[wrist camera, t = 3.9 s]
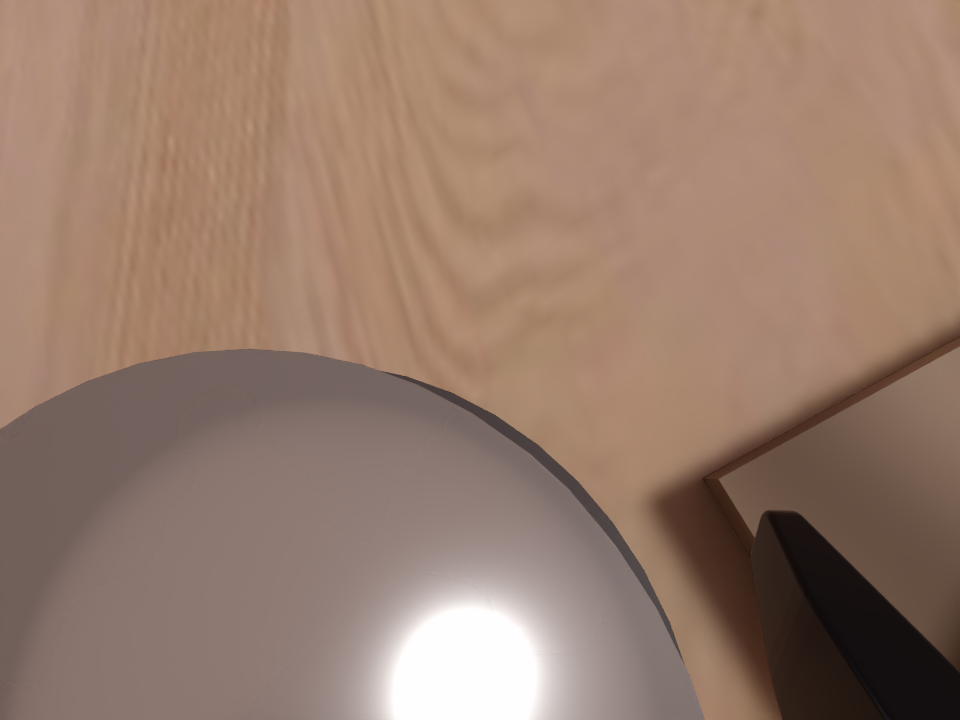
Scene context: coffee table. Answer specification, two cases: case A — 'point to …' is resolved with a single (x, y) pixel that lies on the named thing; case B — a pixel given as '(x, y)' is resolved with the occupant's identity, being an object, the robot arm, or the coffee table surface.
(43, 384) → the coffee table surface
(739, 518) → the ring seat
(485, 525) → the silver metal cylinder
